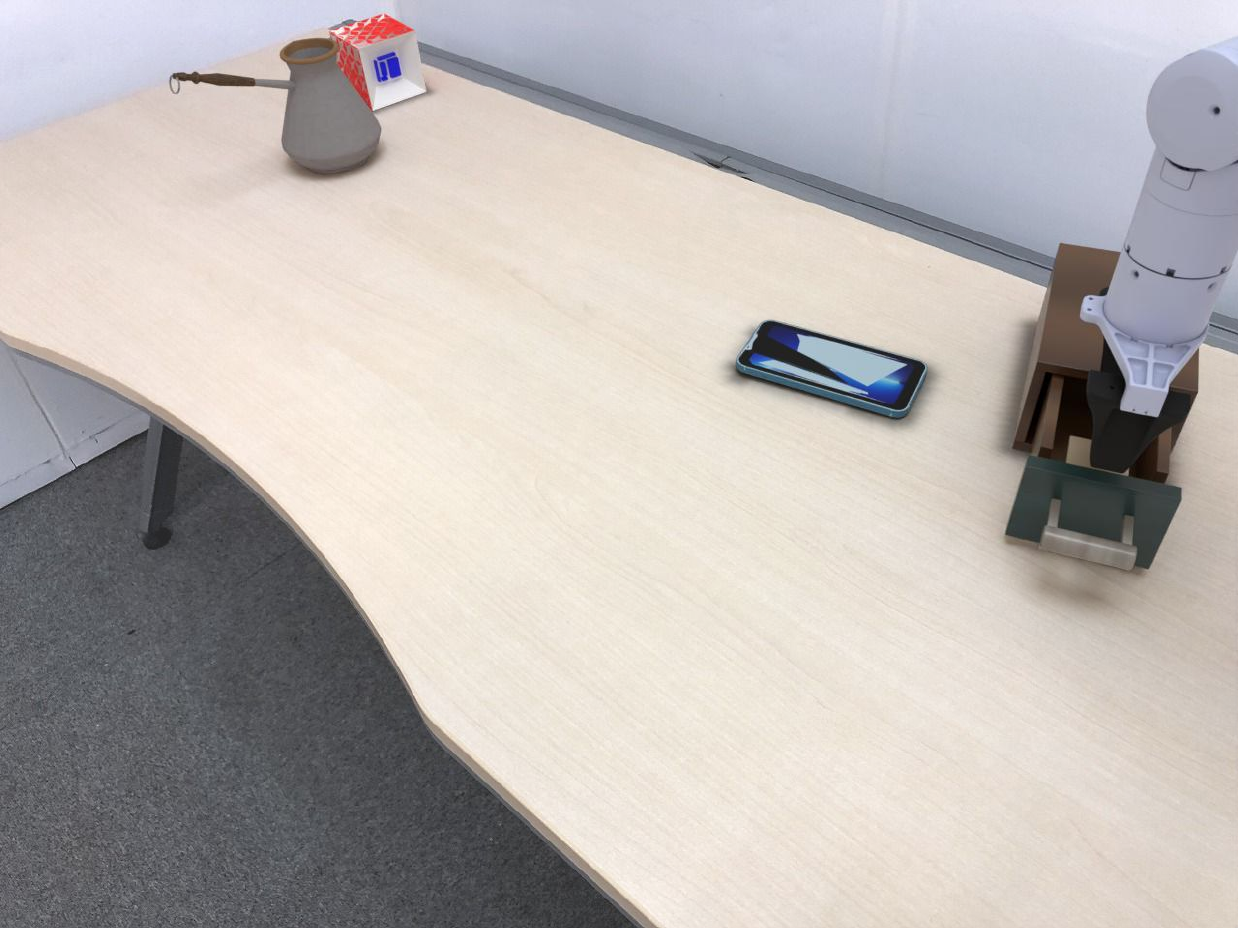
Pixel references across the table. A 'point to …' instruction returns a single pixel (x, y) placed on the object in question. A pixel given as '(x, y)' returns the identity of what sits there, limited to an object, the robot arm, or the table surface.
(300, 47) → the coffee pot
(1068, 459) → the block
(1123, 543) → the drawer
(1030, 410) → the cabinet
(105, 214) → the table surface
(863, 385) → the smartphone
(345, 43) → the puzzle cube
